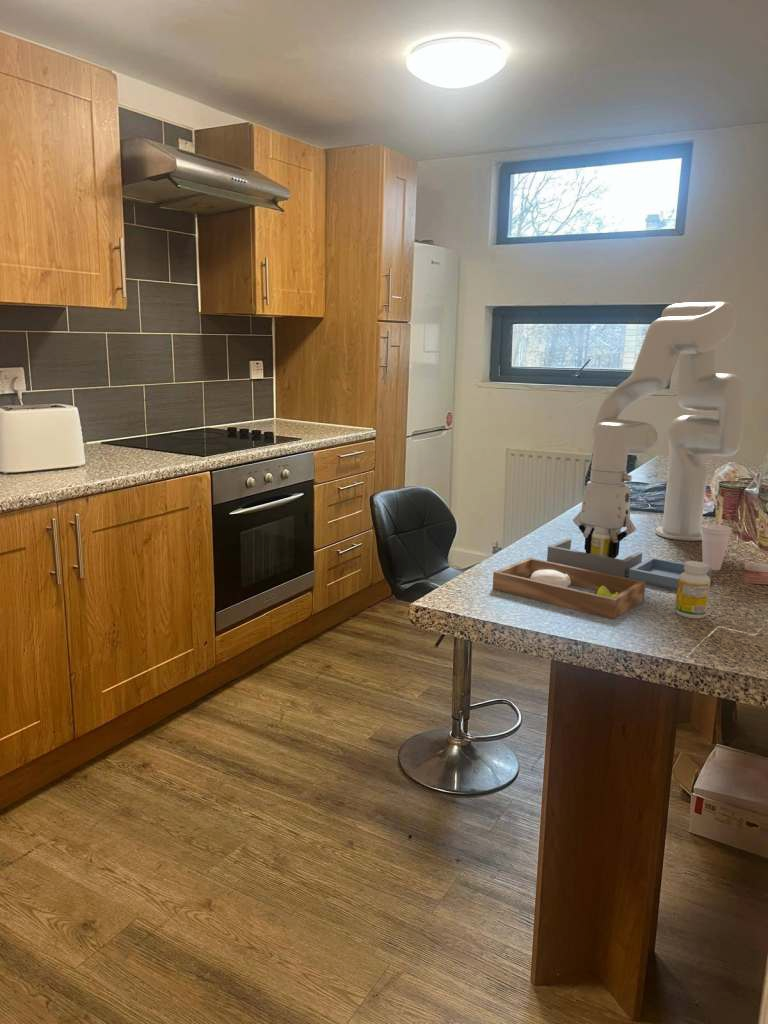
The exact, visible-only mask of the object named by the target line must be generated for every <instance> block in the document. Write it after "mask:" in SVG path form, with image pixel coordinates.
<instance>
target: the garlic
mask: <svg viewBox="0 0 768 1024" xmlns="http://www.w3.org/2000/svg"><path fill="white" fill-rule="evenodd" d="M529 579H532V580H537V581H541V582H545V583H550V584H554V585H558V586H563V587H567V588H568V587H569V586H570V585H571V584H570V583H571V581H570V577H569V576H568V574H563V573H561V572H559V571H556V570H549V569H546V570H537V571H535V572H533V573H532V575H530V578H529Z"/></svg>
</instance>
